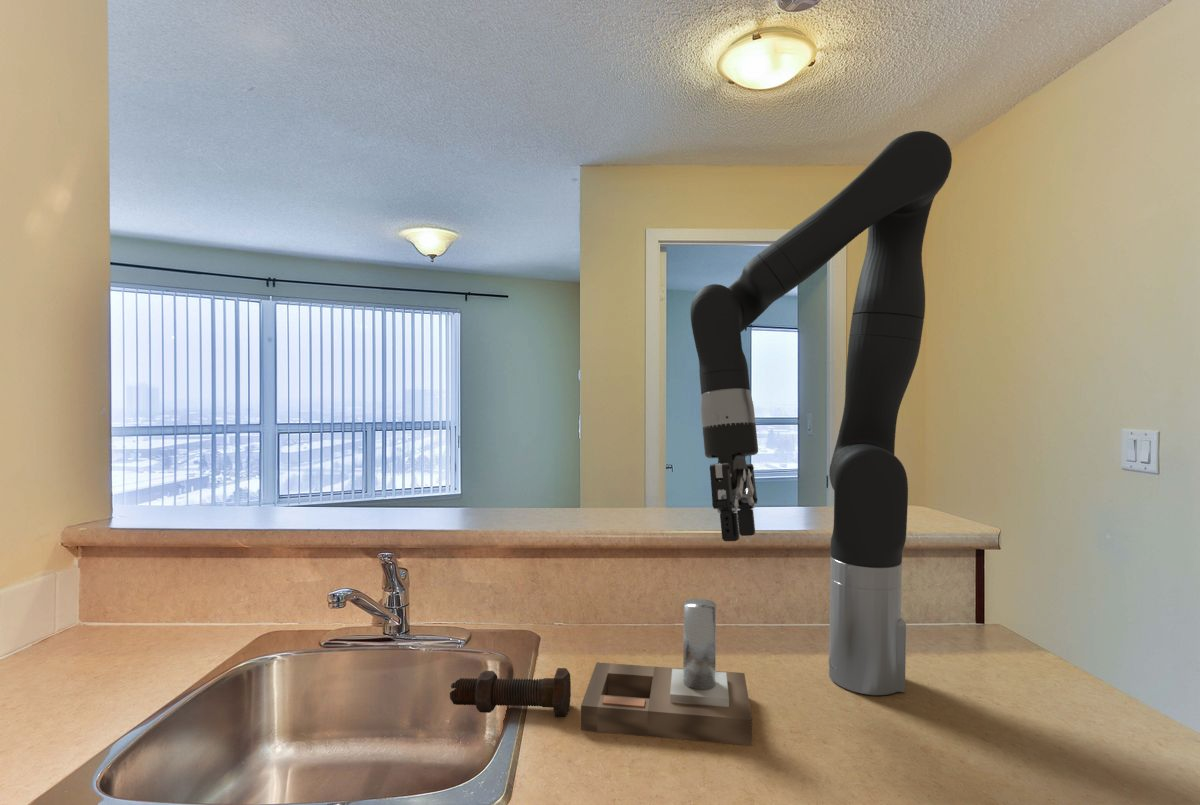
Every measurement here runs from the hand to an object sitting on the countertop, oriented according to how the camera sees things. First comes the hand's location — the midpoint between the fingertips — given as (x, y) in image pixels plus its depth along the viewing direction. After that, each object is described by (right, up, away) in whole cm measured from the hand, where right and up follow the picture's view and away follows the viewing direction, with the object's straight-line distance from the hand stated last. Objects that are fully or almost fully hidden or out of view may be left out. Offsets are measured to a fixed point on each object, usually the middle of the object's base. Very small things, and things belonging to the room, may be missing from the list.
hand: (739, 538), depth 88 cm
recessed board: (-11, -20, -9) cm, 25 cm away
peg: (-7, -16, -9) cm, 20 cm away
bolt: (-31, -21, -8) cm, 38 cm away
